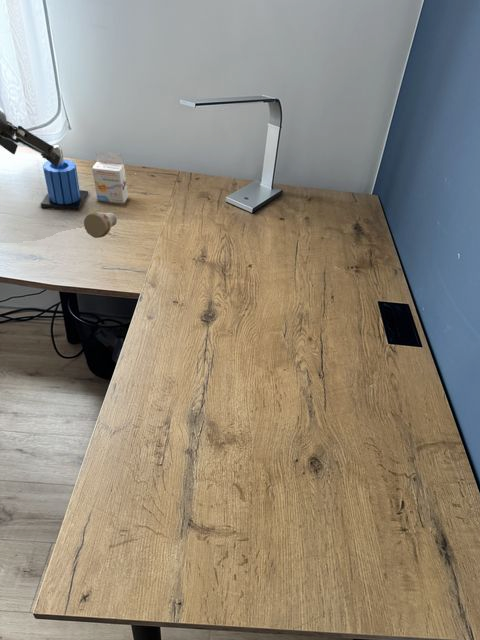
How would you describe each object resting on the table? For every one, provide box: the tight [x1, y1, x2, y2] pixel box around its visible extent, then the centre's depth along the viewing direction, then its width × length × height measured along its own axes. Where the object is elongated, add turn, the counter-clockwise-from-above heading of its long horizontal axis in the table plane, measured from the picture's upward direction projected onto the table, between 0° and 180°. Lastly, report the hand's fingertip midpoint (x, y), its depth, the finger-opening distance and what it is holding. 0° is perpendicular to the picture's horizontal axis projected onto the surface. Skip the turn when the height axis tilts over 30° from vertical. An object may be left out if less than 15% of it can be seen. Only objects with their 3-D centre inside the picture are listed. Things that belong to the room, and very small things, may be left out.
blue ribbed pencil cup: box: [42, 158, 81, 204], centre depth 151 cm, size 9×9×10 cm
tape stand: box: [40, 144, 89, 211], centre depth 149 cm, size 11×11×17 cm
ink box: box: [91, 151, 129, 204], centre depth 153 cm, size 8×5×15 cm, turn 84°
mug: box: [83, 211, 118, 239], centre depth 143 cm, size 8×10×10 cm
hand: (36, 155), depth 138 cm, fingers open, 13 cm apart
